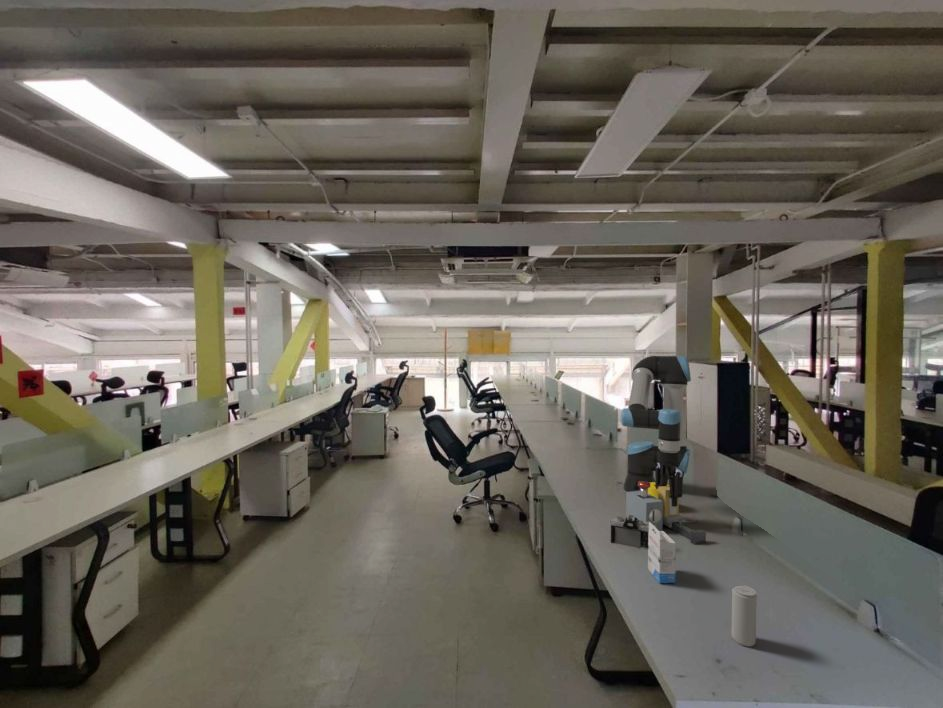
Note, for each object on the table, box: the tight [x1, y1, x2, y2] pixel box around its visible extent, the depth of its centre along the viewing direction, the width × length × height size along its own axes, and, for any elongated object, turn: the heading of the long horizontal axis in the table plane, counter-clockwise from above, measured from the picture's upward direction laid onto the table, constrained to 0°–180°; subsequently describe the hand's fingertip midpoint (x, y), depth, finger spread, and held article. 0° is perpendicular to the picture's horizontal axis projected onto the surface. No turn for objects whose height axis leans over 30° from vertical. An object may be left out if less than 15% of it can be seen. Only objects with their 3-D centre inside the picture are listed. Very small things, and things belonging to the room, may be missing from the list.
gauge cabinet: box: [625, 491, 663, 531], centre depth 164 cm, size 7×13×11 cm, turn 15°
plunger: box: [638, 481, 650, 499], centre depth 164 cm, size 4×4×8 cm
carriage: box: [658, 486, 685, 529], centre depth 164 cm, size 7×8×13 cm
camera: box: [609, 515, 658, 551], centre depth 150 cm, size 16×9×10 cm, turn 63°
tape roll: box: [648, 482, 669, 499], centre depth 181 cm, size 10×10×9 cm
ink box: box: [647, 522, 677, 584], centre depth 129 cm, size 8×5×15 cm, turn 0°
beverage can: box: [730, 584, 758, 647], centre depth 100 cm, size 5×5×12 cm
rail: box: [662, 522, 707, 545], centre depth 161 cm, size 5×23×4 cm, turn 15°
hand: (668, 511), depth 164 cm, fingers closed on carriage, 4 cm apart
